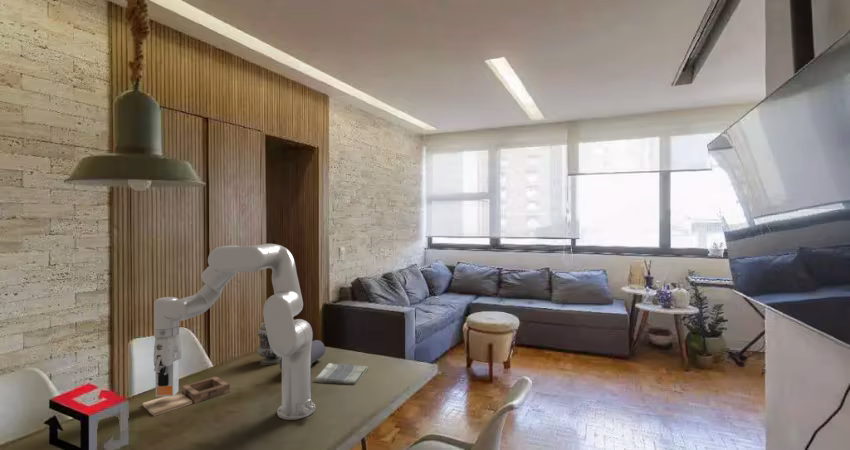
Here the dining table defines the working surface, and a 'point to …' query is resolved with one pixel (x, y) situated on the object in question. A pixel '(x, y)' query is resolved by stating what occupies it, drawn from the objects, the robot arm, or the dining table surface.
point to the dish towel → (341, 374)
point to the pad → (167, 403)
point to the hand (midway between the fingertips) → (167, 382)
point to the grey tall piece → (266, 348)
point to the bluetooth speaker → (314, 351)
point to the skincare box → (169, 381)
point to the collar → (216, 390)
